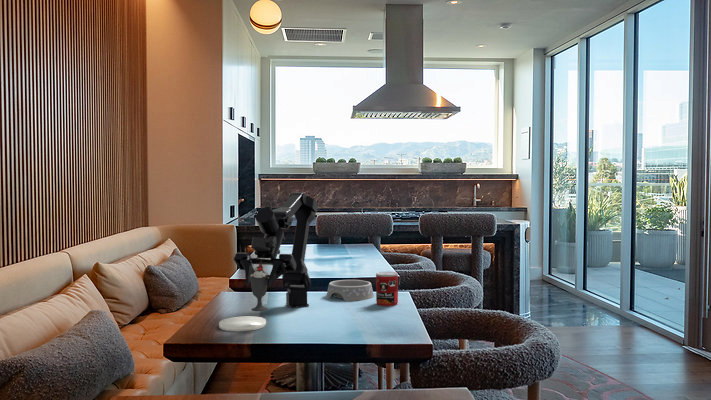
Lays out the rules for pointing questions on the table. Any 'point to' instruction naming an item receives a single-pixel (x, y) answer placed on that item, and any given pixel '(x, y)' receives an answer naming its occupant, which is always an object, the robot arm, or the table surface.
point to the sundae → (259, 286)
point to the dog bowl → (350, 290)
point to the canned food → (387, 288)
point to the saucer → (242, 323)
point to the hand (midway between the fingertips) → (257, 285)
